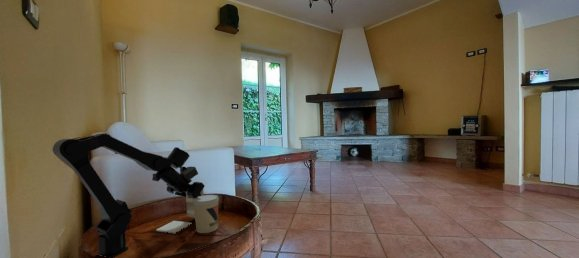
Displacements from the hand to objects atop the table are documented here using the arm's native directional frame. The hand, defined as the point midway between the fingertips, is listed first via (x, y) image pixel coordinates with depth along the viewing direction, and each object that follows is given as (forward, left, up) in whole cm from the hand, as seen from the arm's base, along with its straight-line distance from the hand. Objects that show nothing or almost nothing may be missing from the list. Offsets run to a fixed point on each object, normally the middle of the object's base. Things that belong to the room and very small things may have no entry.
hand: (198, 198), depth 108 cm
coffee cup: (-8, -11, -9) cm, 16 cm away
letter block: (-1, 0, -7) cm, 7 cm away
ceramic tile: (-10, +3, -9) cm, 14 cm away
